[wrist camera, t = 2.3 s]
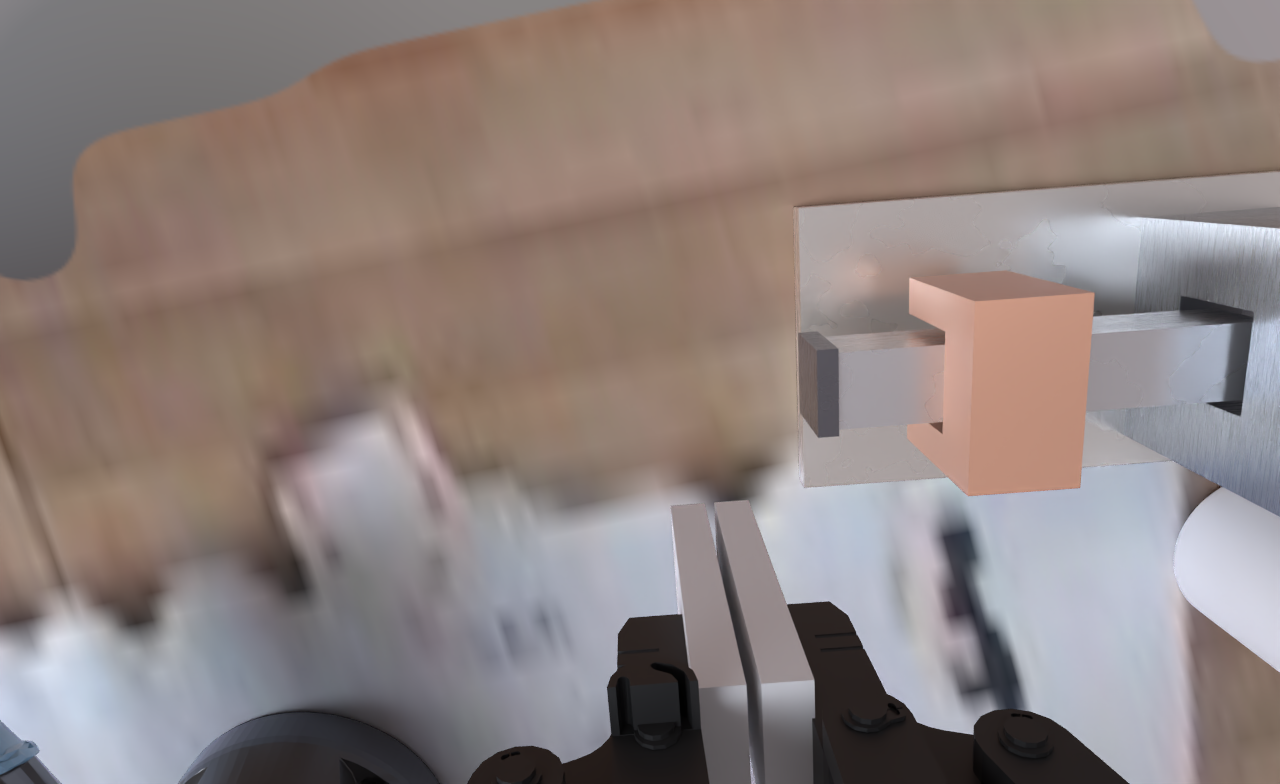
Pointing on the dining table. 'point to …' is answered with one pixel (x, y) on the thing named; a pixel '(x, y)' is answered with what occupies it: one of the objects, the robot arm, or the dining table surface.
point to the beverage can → (1234, 569)
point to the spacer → (1007, 380)
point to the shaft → (1118, 377)
